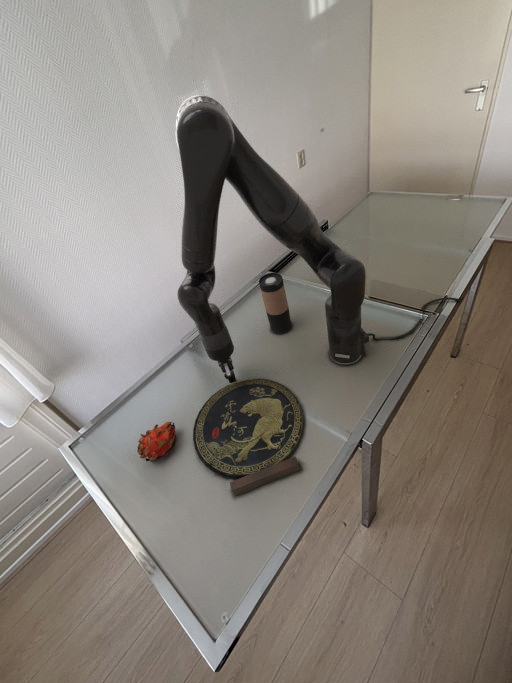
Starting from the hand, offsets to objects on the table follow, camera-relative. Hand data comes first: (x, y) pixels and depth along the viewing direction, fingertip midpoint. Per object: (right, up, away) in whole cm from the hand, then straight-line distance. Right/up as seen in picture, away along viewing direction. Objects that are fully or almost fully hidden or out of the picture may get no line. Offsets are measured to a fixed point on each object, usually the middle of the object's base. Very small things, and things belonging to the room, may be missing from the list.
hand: (232, 380), depth 97 cm
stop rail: (+9, -20, -23) cm, 32 cm away
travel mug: (+16, +17, +15) cm, 28 cm away
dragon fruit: (-18, -17, -10) cm, 27 cm away
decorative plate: (+5, -11, -11) cm, 16 cm away
